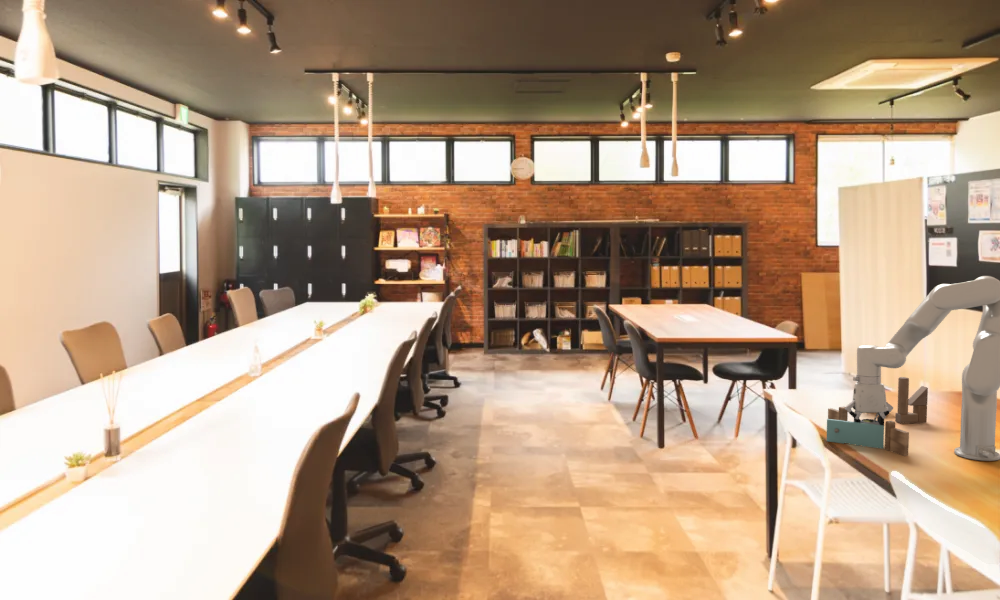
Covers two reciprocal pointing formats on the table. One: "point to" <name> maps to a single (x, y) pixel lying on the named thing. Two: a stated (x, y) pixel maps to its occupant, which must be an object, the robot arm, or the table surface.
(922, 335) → the robot arm
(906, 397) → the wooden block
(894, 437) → the gate frame
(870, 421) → the mate gourd
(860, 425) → the door
